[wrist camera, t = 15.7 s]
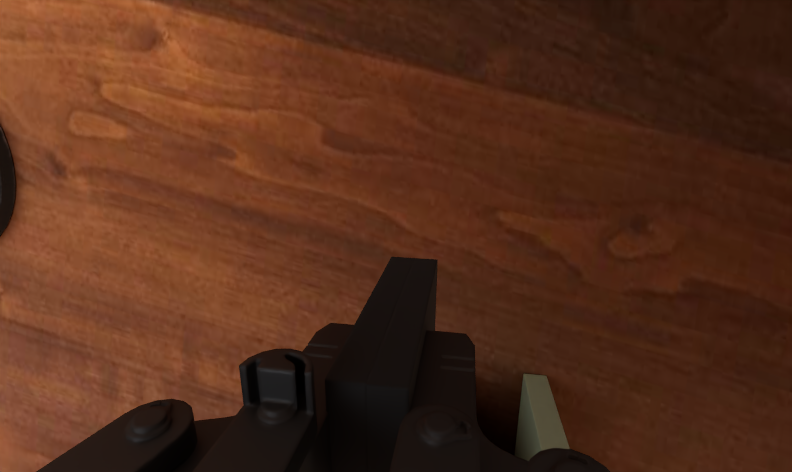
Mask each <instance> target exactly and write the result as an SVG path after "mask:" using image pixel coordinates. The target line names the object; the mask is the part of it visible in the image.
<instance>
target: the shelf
mask: <svg viewBox="0 0 792 472" xmlns="http://www.w3.org/2000/svg"><path fill="white" fill-rule="evenodd" d="M550 448H563V449H570V448H569V445H568V442H567V439H566V435H565V432H564V429H563V426H562V423H561V420H560V417H559V414H558V410H557V407H556V404H555V401H554V398H553V395H552V392H551V389H550V385H549V382H548V379H547V376H543V375H533V374H523V383H522V391H521V400H520V409H519V418H518V427H517V436H516V445H515V454H514V456H517V457H519V458H522V459H524V460H527V461H529V460H530V458H532V457H533V456H534V455H535V454H537V453H538V452H539V451H542V450H546V449H550Z"/></svg>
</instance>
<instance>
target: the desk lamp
mask: <svg viewBox="0 0 792 472" xmlns="http://www.w3.org/2000/svg"><path fill="white" fill-rule="evenodd" d="M14 201H15V174H14V166H13V162H12V158H11V153H10V149H9V147H8V144H7V141H6V138H5V136H4V133H3V131H2V129H1V127H0V236H1V234H2V233H3V231H4V230H5V228H6V227H7V225H8V222H9V220H10V217H11V215H12V211H13V206H14Z"/></svg>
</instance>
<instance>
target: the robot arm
mask: <svg viewBox="0 0 792 472" xmlns="http://www.w3.org/2000/svg"><path fill="white" fill-rule="evenodd" d="M436 286H437V260H434V259H418V258H402V257H391V259H390V261H389V263H388V264H387V266H386V268H385V270H384V272H383V274H382V275H381V277H380V279H379V281H378V283H377V285H376V286H375V288H374V290H373V292H372V294H371V296H370V297H369V299H368V301H367V303H366V305H365V307H364V308H363V310H362V312H361V314H360V316H359V318H358V319H357V321H356V323H355V325H348V324H337V323H330V324H328V325H327V326H325V327H324V328H322V329H320V330H319V331H317V332H316V333H315V335H314V336H313V338H312V339H311V340H310V342H309V343H308V346H306V348H305V349H304V350H303V352H302V351H298V350H294V349H274V350H269V351H264V352H261V353H259V354H256V355H254V356H252V357H249V358H248V359H247V360H245V361H244V362H243V363H242V364H240V365H239V369H240V378H241V386H242V394H243V403H244V406H243V407H242V408H241V409H240V411H239V412H238V413H237V415H236V416H231V417H225V418H217V419H208V420H199V421H194V416H193V412H192V407H191V406H190V405H188V404H187V403H186V402H184V401H180V400H174V399H167V400H157V401H153V402H150V403H147V404H144V405H141V406H138V407H137V408H135V409H133V410H131V411H129V412H127V413H125V414H123V415H122V416H120V417H119V418H117V419H116V420H114V421H113V422H111V423H110V424H108V425H107V426H105V427H104V428H102V429H101V430H99V431H98V432H96V433H95V434H93V435H91V436H90V437H88V438H87V439H85V440H84V441H82V442H81V443H79V444H78V445H76V446H75V447H73V448H72V449H70V450H69V451H67V452H66V453H64V454H62V455H61V456H59V457H58V458H56V459H55V460H53V461H52V462H50V463H49V464H47V465H46V466H44V467H43V468H41V469H40V470H38V471H37V472H610V471H609V470H608V469H607V468H606V467H605V466H604V465H602V464H601V463H599V462H597V461H596V460H594V459H593V458H591V457H590V456H588V455H585V454H582V453H580V452H577V451H574V450H572V449H563V448H550V449H546V450H542V451H539V452H538V453H537V454H535V455H534V456H533V457H532V458H530V460H529V461H527V460H524V459H522V458H519V457H517V456H514V455H512V454H510V453H508V452H506V451H504V450H502V449H500V448H498V447H497V446H496V445H494V444H493V443H492V442H490V441H489V440H488V439H487V437H486V436H485V435H484V434H483V433H482V431H481V429H480V427H479V426H478V422H477V417H476V380H475V345H474V344H473V343H472V341H471V340H470V339H469V337H468V336H467V335H466V334H462V333H451V332H440V331H435V312H436Z"/></svg>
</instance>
